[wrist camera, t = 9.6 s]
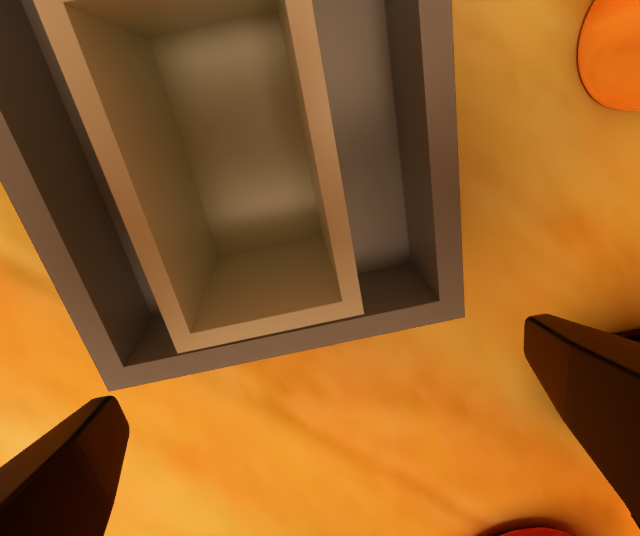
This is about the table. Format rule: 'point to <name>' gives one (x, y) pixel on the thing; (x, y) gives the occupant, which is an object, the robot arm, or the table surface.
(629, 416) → the robot arm
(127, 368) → the big crate
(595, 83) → the beer glass
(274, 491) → the table surface
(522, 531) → the plant pot
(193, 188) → the small crate
